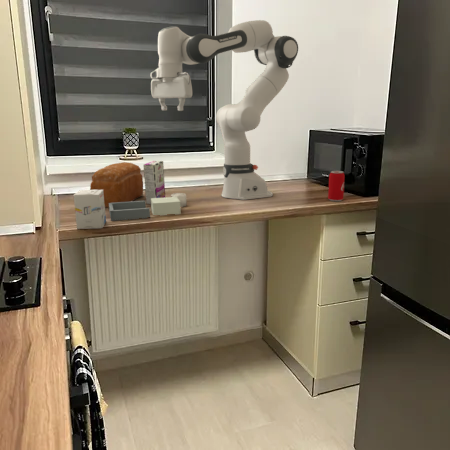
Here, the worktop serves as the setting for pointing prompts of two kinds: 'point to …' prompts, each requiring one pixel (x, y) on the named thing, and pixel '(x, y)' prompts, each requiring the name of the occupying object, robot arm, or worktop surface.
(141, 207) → the grey rectangular tray
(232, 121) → the robot arm
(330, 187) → the beverage can
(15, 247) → the worktop surface
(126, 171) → the bread
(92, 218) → the ink box
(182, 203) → the white rounded block
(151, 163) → the candy bar box
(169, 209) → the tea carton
